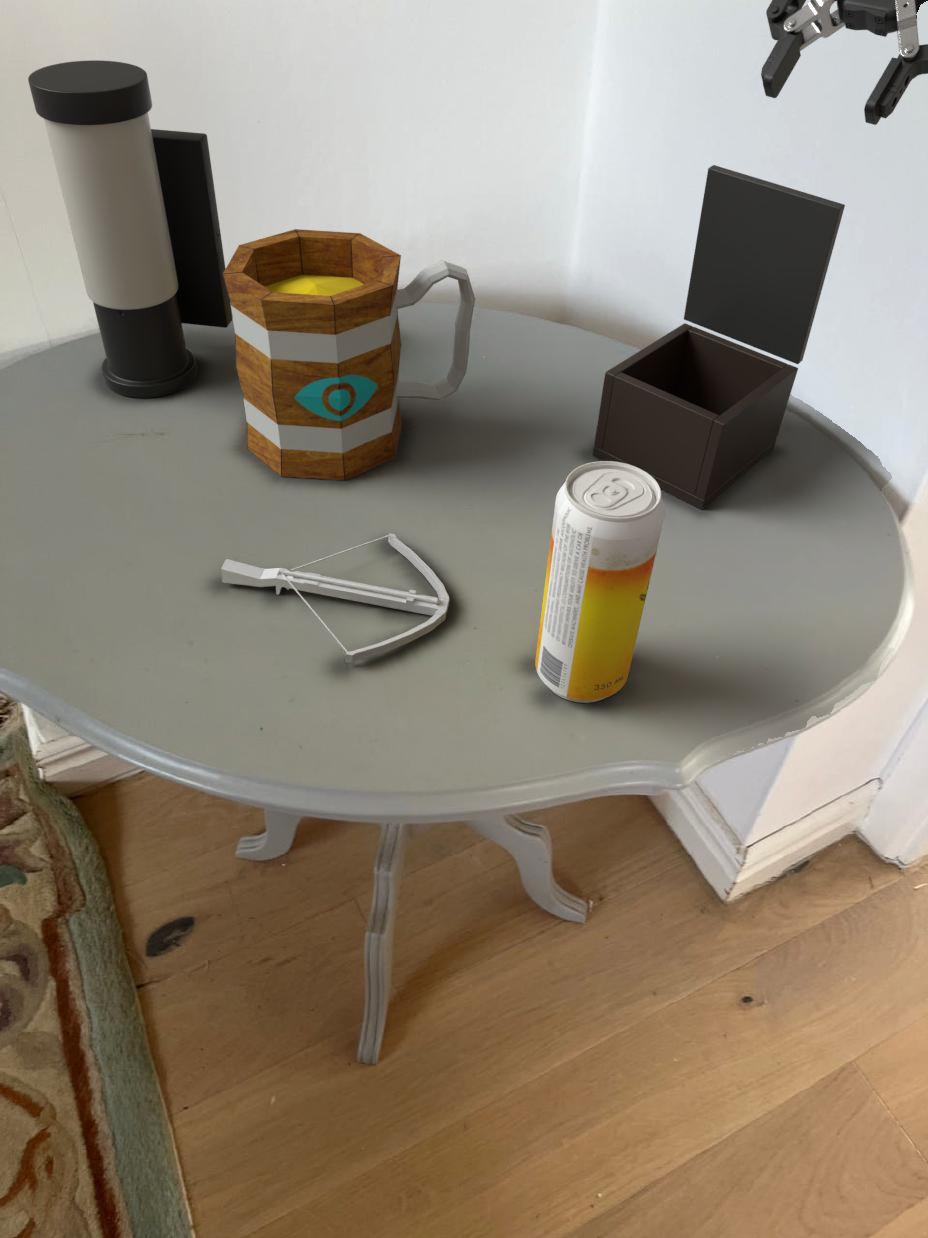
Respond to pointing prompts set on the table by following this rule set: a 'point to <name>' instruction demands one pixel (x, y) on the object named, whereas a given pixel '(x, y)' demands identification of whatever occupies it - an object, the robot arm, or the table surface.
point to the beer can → (597, 578)
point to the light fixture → (135, 221)
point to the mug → (329, 349)
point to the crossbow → (353, 594)
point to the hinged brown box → (693, 412)
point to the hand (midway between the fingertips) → (818, 103)
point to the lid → (760, 261)
